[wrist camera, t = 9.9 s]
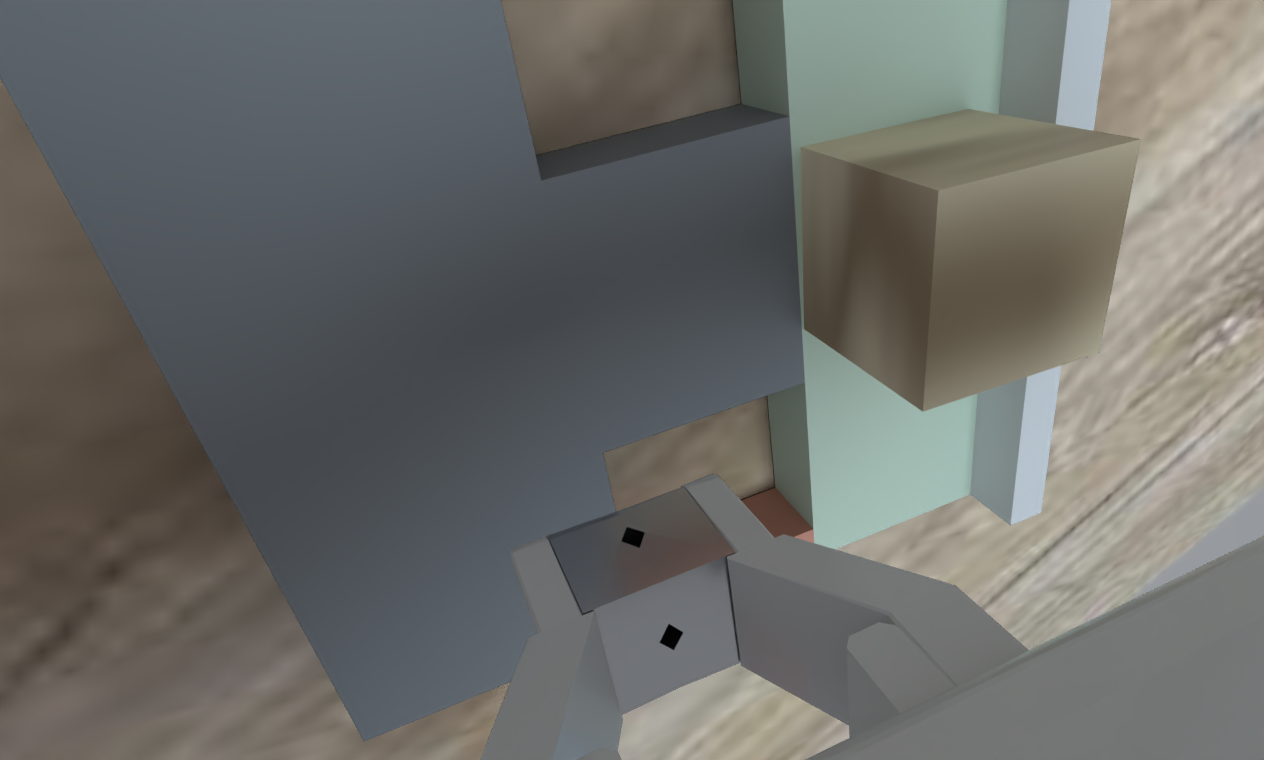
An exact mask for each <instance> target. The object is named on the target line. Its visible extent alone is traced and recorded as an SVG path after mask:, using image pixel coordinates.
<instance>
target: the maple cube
mask: <svg viewBox="0 0 1264 760" xmlns="http://www.w3.org/2000/svg"><path fill="white" fill-rule="evenodd" d="M1140 142H1141V139H1137V138H1132V137H1126V136H1120V135H1115V134H1109V133H1103V132H1098V131H1092V130H1086V129H1080V128H1075V127H1069V126H1063V125H1058V124H1052V123H1046V122H1041V121H1035V120H1029V119H1024V118H1018V117H1012V116H1007V115H1001V114H995V113H989V112H984V111H978V110H972V109H966V110H961V111H957V112H953V113H948V114H944V115H939V116H935V117H930V118H926V119H922V120H917V121H913V122H908V123H904V124H900V125H895V126H891V127H886V128H882V129H877V130H873V131H869V132H864V133H860V134H855V135H851V136H846V137H842V138H838V139H833V140H829V141H824V142H820V143H816V144H811V145H807V146H802V147H801V190H802V245H803V299H804V329H805V330H806V331H808V332H809V333H810V334H812V335H813V336H815V337H816V338H818V339H819V340H820V341H822V342H823V343H825V344H826V345H828V346H829V347H830V348H832V349H833V350H835V351H836V352H838V353H839V354H841V355H842V356H843V357H845V358H846V359H848V360H849V361H851V362H852V363H853V364H855V365H856V366H858V367H859V368H861V369H862V370H864V371H865V372H866V373H868V374H869V375H871V376H872V377H874V378H875V379H876V380H878V381H879V382H881V383H882V384H884V385H885V386H887V387H888V388H889V389H891V390H892V391H894V392H895V393H897V394H898V395H899V396H901V397H902V398H904V399H905V400H907V401H908V402H909V403H911V404H912V405H914V406H915V407H917V408H918V409H920V410H921V411H922V412H924V411H927V410H930V409H933V408H936V407H939V406H942V405H945V404H948V403H951V402H953V401H956V400H959V399H962V398H965V397H968V396H971V395H974V394H977V393H980V392H983V391H986V390H989V389H992V388H995V387H998V386H1001V385H1004V384H1007V383H1010V382H1013V381H1016V380H1019V379H1022V378H1025V377H1028V376H1031V375H1034V374H1037V373H1040V372H1043V371H1046V370H1049V369H1052V368H1055V367H1058V366H1061V365H1064V364H1067V363H1070V362H1073V361H1076V360H1079V359H1082V358H1085V357H1088V356H1091V355H1094V354H1097V353H1099V351H1100V346H1101V340H1102V335H1103V330H1104V325H1105V320H1106V315H1107V310H1108V305H1109V300H1110V295H1111V290H1112V284H1113V279H1114V274H1115V269H1116V264H1117V259H1118V254H1119V249H1120V244H1121V239H1122V234H1123V228H1124V223H1125V218H1126V213H1127V208H1128V203H1129V198H1130V193H1131V188H1132V183H1133V178H1134V173H1135V167H1136V162H1137V157H1138V152H1139V147H1140Z"/></svg>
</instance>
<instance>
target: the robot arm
mask: <svg viewBox="0 0 1264 760" xmlns="http://www.w3.org/2000/svg"><path fill="white" fill-rule="evenodd" d="M510 554H511V558H512V562H513V565H514V568H515V571H516V574H517V578H518V581H519V584H520V587H521V590H522V594H523V597H524V600H525V603H526V606H527V610H528V613H529V616H530V619H531V622H532V625H533V629H534V632H535V635H533V636H531V637H529V638H528V639H527V641H526V644H525V646H524V649H523V652H522V654H521V657H520V659H519V662H518V664H517V667H516V669H515V672H514V675H513V677H512V680H511V682H510V685H509V687H508V690H507V692H506V695H505V698H504V700H503V703H502V705H501V708H500V710H499V713H498V715H497V718H496V720H495V723H494V726H493V728H492V731H491V733H490V736H489V738H488V741H487V743H486V746H485V749H484V751H483V754H482V756H481V759H480V760H621V757H620V755H619V753H618V745H619V739H620V733H621V727H622V721H623V718H622V715H623V714H625V713H627V712H629V711H631V710H634V709H636V708H638V707H640V706H642V705H644V704H646V703H648V702H650V701H652V700H655V699H657V698H659V697H661V696H663V695H665V694H667V693H669V692H671V691H673V690H676V689H678V688H680V687H682V686H685V685H687V684H689V683H692V682H694V681H697V680H699V679H702V678H704V677H707V676H709V675H711V674H714V673H716V672H719V671H721V670H724V669H726V668H728V667H731V666H733V665H736V664H738V663H741V666H743V667H745V668H746V669H748V670H750V671H752V672H754V673H755V674H757V675H759V676H761V677H763V678H764V679H766V680H768V681H770V682H772V683H773V684H775V685H777V686H779V687H781V688H782V689H784V690H786V691H788V692H790V693H791V694H793V695H795V696H797V697H799V698H800V699H802V700H804V701H806V702H808V703H809V704H811V705H813V706H815V707H817V708H818V709H820V710H822V711H824V712H826V713H827V714H829V715H831V716H833V717H835V718H836V719H838V720H840V721H842V722H844V723H845V724H847V725H849V734H850V738H849V739H847V740H845V741H842V742H840V743H838V744H836V745H834V746H832V747H830V748H828V749H826V750H824V751H822V752H820V753H818V754H816V755H814V756H812V757H810V758H808V759H806V760H1264V536H1262V537H1260V538H1258V539H1256V540H1254V541H1252V542H1250V543H1248V544H1246V545H1244V546H1242V547H1240V548H1238V549H1235V550H1233V551H1231V552H1229V553H1227V554H1225V555H1223V556H1221V557H1219V558H1217V559H1215V560H1213V561H1211V562H1209V563H1207V564H1205V565H1203V566H1201V567H1199V568H1197V569H1195V570H1192V571H1191V572H1188V573H1186V574H1185V575H1182V576H1180V577H1178V578H1176V579H1174V580H1172V581H1170V582H1168V583H1166V584H1164V585H1162V586H1160V587H1158V588H1156V589H1154V590H1151V591H1150V592H1147V593H1145V594H1143V595H1141V596H1139V597H1137V598H1135V599H1133V600H1131V601H1129V602H1127V603H1125V604H1123V605H1121V606H1119V607H1117V608H1115V609H1113V610H1111V611H1108V612H1106V613H1104V614H1102V615H1100V616H1098V617H1096V618H1094V619H1092V620H1090V621H1088V622H1086V623H1084V624H1082V625H1080V626H1078V627H1076V628H1074V629H1072V630H1070V631H1068V632H1066V633H1063V634H1061V635H1059V636H1057V637H1055V638H1053V639H1051V640H1049V641H1047V642H1045V643H1043V644H1041V645H1039V646H1037V647H1035V648H1033V649H1031V650H1028V649H1027V648H1026V647H1024V646H1023V645H1022V644H1021V643H1020V642H1019V641H1018V640H1017V639H1015V638H1014V637H1013V636H1012V635H1011V634H1010V633H1009V632H1008V631H1006V630H1005V629H1004V628H1003V627H1002V626H1001V625H1000V624H999V623H997V622H996V621H995V620H994V619H993V618H992V617H991V616H990V615H988V614H987V613H986V612H985V611H984V610H983V609H982V608H981V607H979V606H978V605H977V604H976V603H975V602H974V601H973V600H972V599H970V598H969V597H968V596H967V595H966V594H965V593H964V592H963V591H961V590H960V589H959V588H958V587H957V586H956V585H952V584H949V583H946V582H942V581H939V580H936V579H932V578H929V577H926V576H922V575H919V574H916V573H912V572H909V571H905V570H902V569H899V568H895V567H892V566H889V565H885V564H882V563H879V562H875V561H872V560H869V559H865V558H862V557H859V556H855V555H852V554H849V553H845V552H842V551H839V550H835V549H832V548H828V547H825V546H822V545H818V544H815V543H812V542H808V541H805V540H802V539H798V538H795V537H792V536H788V535H785V534H783V535H781V536H778V537H776V538H774V537H773V536H772V534H771V533H770V532H769V531H768V530H767V529H766V528H765V527H764V526H763V524H762V523H761V522H760V521H759V520H758V519H757V518H756V517H755V516H754V514H753V513H752V512H751V511H750V510H749V509H748V508H747V507H746V505H745V504H744V503H743V502H742V501H741V500H740V499H739V498H738V497H737V495H736V494H735V493H734V492H733V491H732V490H731V489H730V488H729V487H728V485H727V484H726V483H725V482H724V481H723V480H722V479H721V478H720V476H718V475H715V474H710V475H708V476H705V477H703V478H700V479H698V480H695V481H693V482H690V483H688V484H685V485H683V486H681V488H678V489H676V490H673V491H670V492H668V493H665V494H662V495H660V496H657V497H654V498H652V499H649V500H647V501H644V502H641V503H639V504H636V505H633V506H631V507H628V508H625V509H623V510H620V511H618V512H614V513H611V514H608V515H605V516H602V517H599V518H596V519H594V520H591V521H588V522H585V523H582V524H579V525H576V526H573V527H571V528H568V529H565V530H562V531H559V532H556V533H553V534H550V535H548V536H547V539H546V538H545V537H543V538H540V539H537V540H535V541H532V542H529V543H526V544H523V545H521V546H518V547H515V548H512V549H510Z"/></svg>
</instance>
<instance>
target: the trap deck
mask: <svg viewBox="0 0 1264 760" xmlns="http://www.w3.org/2000/svg"><path fill="white" fill-rule="evenodd" d="M1110 6H1111V0H733V12H734V23H735V34H736V46H737V57H738V68H739V80H740V91H741V103H742V104H739V105H735V106H731V107H727V108H723V109H719V110H715V111H711V112H707V113H703V114H699V115H695V116H691V117H687V118H683V119H679V120H675V121H671V122H668V123H664V124H660V125H656V126H652V127H648V128H644V129H640V130H636V131H632V132H628V133H624V134H620V135H616V136H612V137H608V138H604V139H600V140H596V141H592V142H588V143H584V144H580V145H576V146H572V147H568V148H564V149H560V150H556V151H552V152H548V153H544V154H540V155H535V150H534V146H533V141H532V137H531V133H530V128H529V124H528V119H527V115H526V110H525V106H524V101H523V97H522V93H521V88H520V84H519V79H518V75H517V70H516V66H515V62H514V57H513V53H512V48H511V44H510V39H509V35H508V31H507V26H506V22H505V17H504V13H503V8H502V4H501V0H0V78H1V80H2V82H3V84H4V85H5V87H6V89H7V91H8V93H9V95H10V96H11V98H12V100H13V102H14V104H15V105H16V107H17V109H18V111H19V113H20V115H21V116H22V118H23V120H24V122H25V124H26V126H27V127H28V129H29V131H30V133H31V135H32V136H33V138H34V140H35V142H36V144H37V146H38V147H39V149H40V151H41V153H42V155H43V157H44V158H45V160H46V162H47V164H48V166H49V167H50V169H51V171H52V173H53V175H54V177H55V178H56V180H57V182H58V184H59V186H60V188H61V189H62V191H63V193H64V195H65V197H66V198H67V200H68V202H69V204H70V206H71V208H72V209H73V211H74V213H75V215H76V217H77V219H78V220H79V222H80V224H81V226H82V228H83V230H84V231H85V233H86V235H87V237H88V239H89V240H90V242H91V244H92V246H93V248H94V250H95V251H96V253H97V255H98V257H99V259H100V261H101V262H102V264H103V266H104V268H105V270H106V271H107V273H108V275H109V277H110V279H111V281H112V282H113V284H114V286H115V288H116V290H117V292H118V293H119V295H120V297H121V299H122V301H123V302H124V304H125V306H126V308H127V310H128V312H129V313H130V315H131V317H132V319H133V321H134V323H135V324H136V326H137V328H138V330H139V332H140V333H141V335H142V337H143V339H144V341H145V343H146V344H147V346H148V348H149V350H150V352H151V354H152V355H153V357H154V359H155V361H156V363H157V364H158V366H159V368H160V370H161V372H162V374H163V375H164V377H165V379H166V381H167V383H168V385H169V386H170V388H171V390H172V392H173V394H174V396H175V397H176V399H177V401H178V403H179V405H180V406H181V408H182V410H183V412H184V414H185V416H186V417H187V419H188V421H189V423H190V425H191V427H192V428H193V430H194V432H195V434H196V436H197V437H198V439H199V441H200V443H201V445H202V447H203V448H204V450H205V452H206V454H207V456H208V458H209V459H210V461H211V463H212V465H213V467H214V468H215V470H216V472H217V474H218V476H219V478H220V479H221V481H222V483H223V485H224V487H225V489H226V490H227V492H228V494H229V496H230V498H231V499H232V501H233V503H234V505H235V507H236V509H237V510H238V512H239V514H240V516H241V518H242V520H243V521H244V523H245V525H246V527H247V529H248V531H249V532H250V534H251V536H252V538H253V540H254V541H255V543H256V545H257V547H258V549H259V551H260V552H261V554H262V556H263V558H264V560H265V562H266V563H267V565H268V567H269V569H270V571H271V572H272V574H273V576H274V578H275V580H276V582H277V583H278V585H279V587H280V589H281V591H282V593H283V594H284V596H285V598H286V600H287V602H288V603H289V605H290V607H291V609H292V611H293V613H294V614H295V616H296V618H297V620H298V622H299V624H300V625H301V627H302V629H303V631H304V633H305V634H306V636H307V638H308V640H309V642H310V644H311V645H312V647H313V649H314V651H315V653H316V655H317V656H318V658H319V660H320V662H321V664H322V666H323V667H324V669H325V671H326V673H327V675H328V676H329V678H330V680H331V682H332V684H333V686H334V687H335V689H336V691H337V693H338V695H339V697H340V698H341V700H342V702H343V704H344V706H345V707H346V709H347V711H348V713H349V715H350V717H351V718H352V720H353V722H354V724H355V726H356V728H357V729H358V731H359V733H360V735H361V737H362V738H363V740H364V741H366V740H369V739H371V738H374V737H376V736H379V735H381V734H384V733H386V732H388V731H391V730H393V729H396V728H398V727H401V726H403V725H406V724H408V723H410V722H413V721H415V720H418V719H420V718H423V717H425V716H428V715H430V714H433V713H435V712H437V711H440V710H442V709H445V708H447V707H450V706H452V705H455V704H457V703H460V702H462V701H464V700H467V699H469V698H472V697H474V696H477V695H479V694H482V693H484V692H486V691H489V690H491V689H494V688H496V687H499V686H501V685H504V684H506V683H509V682H511V680H512V677H513V675H514V672H515V669H516V667H517V664H518V662H519V659H520V657H521V654H522V652H523V649H524V646H525V644H526V641H527V639H528V638H529V637H531V636H533V635H535V632H534V629H533V625H532V622H531V619H530V616H529V613H528V610H527V606H526V603H525V600H524V597H523V594H522V590H521V587H520V584H519V581H518V578H517V574H516V571H515V568H514V565H513V562H512V558H511V554H510V549H512V548H515V547H518V546H521V545H523V544H526V543H529V542H532V541H535V540H537V539H540V538H543V537H545V538H546V539H547V536H548V535H550V534H553V533H556V532H559V531H562V530H565V529H568V528H571V527H573V526H576V525H579V524H582V523H585V522H588V521H591V520H594V519H596V518H599V517H602V516H605V515H608V514H611V513H614V512H616V509H615V505H614V500H613V496H612V492H611V487H610V483H609V478H608V474H607V469H606V465H605V461H604V456H603V453H604V452H606V451H609V450H612V449H615V448H618V447H621V446H624V445H627V444H629V443H632V442H635V441H638V440H641V439H644V438H647V437H649V436H652V435H655V434H658V433H661V432H664V431H667V430H670V429H672V428H675V427H678V426H681V425H684V424H687V423H690V422H693V421H695V420H698V419H701V418H704V417H707V416H710V415H713V414H715V413H718V412H721V411H724V410H727V409H730V408H733V407H736V406H738V405H741V404H744V403H747V402H750V401H753V400H756V399H759V398H761V397H764V396H767V399H768V410H769V421H770V433H771V444H772V456H773V467H774V478H775V488H773V489H770V490H767V491H765V492H762V493H760V494H757V495H754V496H752V497H749V498H746V499H744V500H741V501H742V502H743V503H744V504H745V505H746V507H747V508H748V509H749V510H750V511H751V512H752V513H753V514H754V516H755V517H756V518H757V519H758V520H759V521H760V522H761V523H762V524H763V526H764V527H765V528H766V529H767V530H768V531H769V532H770V533H771V534H772V536H773V537H774V538H776V537H778V536H781V535H783V534H785V535H788V536H792V537H795V538H798V539H802V540H805V541H808V542H812V543H815V544H818V545H822V546H825V547H828V548H832V549H837V548H840V547H842V546H844V545H847V544H849V543H852V542H854V541H857V540H859V539H862V538H864V537H867V536H869V535H871V534H874V533H876V532H879V531H881V530H884V529H886V528H889V527H891V526H894V525H896V524H898V523H901V522H903V521H906V520H908V519H911V518H913V517H916V516H918V515H920V514H923V513H925V512H928V511H930V510H933V509H935V508H938V507H940V506H943V505H945V504H947V503H950V502H952V501H955V500H957V499H960V498H962V497H965V496H967V495H970V494H971V495H972V496H973V497H974V498H976V499H977V500H978V501H980V502H981V503H982V504H983V505H985V506H986V507H987V508H989V509H990V510H991V511H993V512H994V513H995V514H996V515H998V516H999V517H1000V518H1002V519H1003V520H1004V521H1005V522H1007V523H1008V524H1009V525H1013V524H1015V523H1017V522H1020V521H1022V520H1024V519H1027V518H1029V517H1031V516H1034V515H1036V514H1039V513H1041V509H1042V502H1043V494H1044V487H1045V480H1046V472H1047V465H1048V458H1049V451H1050V443H1051V436H1052V429H1053V421H1054V414H1055V407H1056V399H1057V392H1058V385H1059V378H1060V370H1061V366H1058V367H1055V368H1052V369H1049V370H1046V371H1043V372H1040V373H1037V374H1034V375H1031V376H1028V377H1025V378H1022V379H1019V380H1016V381H1013V382H1010V383H1007V384H1004V385H1001V386H998V387H995V388H992V389H989V390H986V391H983V392H980V393H977V394H974V395H971V396H968V397H965V398H962V399H959V400H956V401H953V402H951V403H948V404H945V405H942V406H939V407H936V408H933V409H930V410H927V411H924V412H922V411H921V410H920V409H918V408H917V407H915V406H914V405H912V404H911V403H909V402H908V401H907V400H905V399H904V398H902V397H901V396H899V395H898V394H897V393H895V392H894V391H892V390H891V389H889V388H888V387H887V386H885V385H884V384H882V383H881V382H879V381H878V380H876V379H875V378H874V377H872V376H871V375H869V374H868V373H866V372H865V371H864V370H862V369H861V368H859V367H858V366H856V365H855V364H853V363H852V362H851V361H849V360H848V359H846V358H845V357H843V356H842V355H841V354H839V353H838V352H836V351H835V350H833V349H832V348H830V347H829V346H828V345H826V344H825V343H823V342H822V341H820V340H819V339H818V338H816V337H815V336H813V335H812V334H810V333H809V332H808V331H806V330H805V329H804V299H803V245H802V190H801V147H802V146H807V145H811V144H816V143H820V142H824V141H829V140H833V139H838V138H842V137H846V136H851V135H855V134H860V133H864V132H869V131H873V130H877V129H882V128H886V127H891V126H895V125H900V124H904V123H908V122H913V121H917V120H922V119H926V118H930V117H935V116H939V115H944V114H948V113H953V112H957V111H961V110H966V109H972V110H978V111H984V112H989V113H995V114H1001V115H1007V116H1012V117H1018V118H1024V119H1029V120H1035V121H1041V122H1046V123H1052V124H1058V125H1063V126H1069V127H1075V128H1080V129H1086V130H1092V131H1093V130H1094V123H1095V115H1096V108H1097V101H1098V93H1099V86H1100V79H1101V72H1102V64H1103V57H1104V50H1105V42H1106V35H1107V28H1108V21H1109V13H1110Z"/></svg>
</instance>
